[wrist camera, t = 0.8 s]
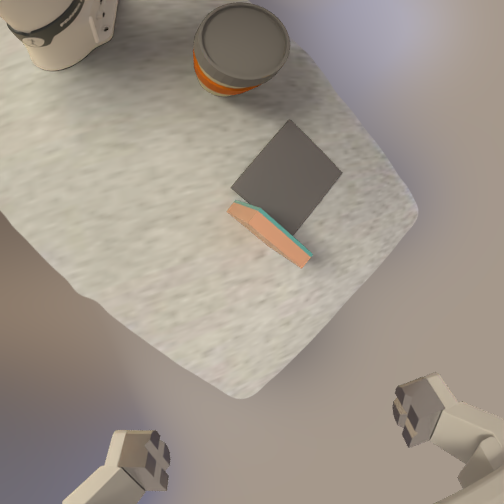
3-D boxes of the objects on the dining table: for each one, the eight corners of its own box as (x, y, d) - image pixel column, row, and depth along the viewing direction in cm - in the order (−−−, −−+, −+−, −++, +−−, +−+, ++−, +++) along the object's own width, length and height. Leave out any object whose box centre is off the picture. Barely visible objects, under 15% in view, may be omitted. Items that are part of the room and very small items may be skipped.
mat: (289, 238, 57) (290, 238, 57) (230, 187, 52) (231, 187, 52) (341, 172, 57) (342, 172, 57) (289, 119, 52) (290, 119, 52)
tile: (269, 246, 57) (301, 268, 43) (226, 211, 53) (247, 223, 40) (278, 235, 57) (313, 254, 43) (235, 200, 53) (260, 207, 40)
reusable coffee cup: (177, 97, 46) (183, 67, 32) (197, 34, 44) (211, -9, 30) (250, 114, 50) (281, 94, 36) (265, 52, 48) (299, 18, 34)
